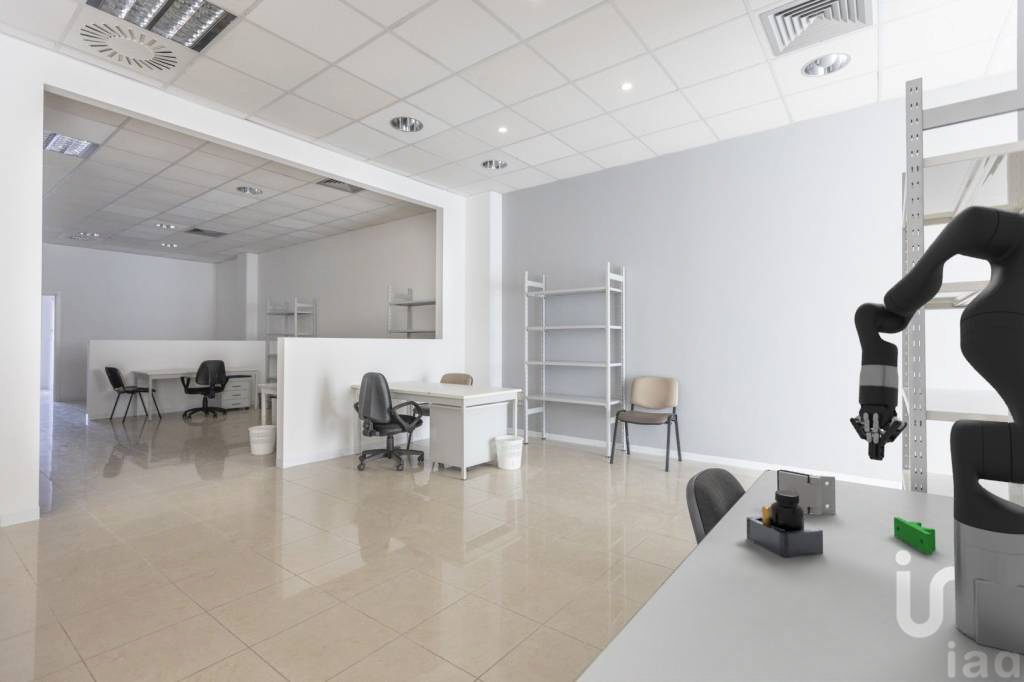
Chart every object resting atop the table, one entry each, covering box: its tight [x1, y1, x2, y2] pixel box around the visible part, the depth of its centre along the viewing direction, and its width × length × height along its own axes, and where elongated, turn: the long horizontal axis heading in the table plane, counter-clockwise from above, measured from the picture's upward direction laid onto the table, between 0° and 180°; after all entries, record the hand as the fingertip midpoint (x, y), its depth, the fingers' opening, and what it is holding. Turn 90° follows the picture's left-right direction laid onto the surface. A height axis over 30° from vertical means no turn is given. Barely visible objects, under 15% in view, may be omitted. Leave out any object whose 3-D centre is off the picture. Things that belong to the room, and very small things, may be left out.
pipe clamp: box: [893, 516, 937, 555], centre depth 115 cm, size 11×4×5 cm, turn 173°
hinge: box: [776, 469, 837, 516], centre depth 139 cm, size 14×5×10 cm, turn 49°
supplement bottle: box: [769, 490, 805, 532], centre depth 114 cm, size 7×7×12 cm
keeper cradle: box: [746, 505, 824, 559], centre depth 114 cm, size 10×11×9 cm
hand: (875, 459), depth 117 cm, fingers closed
